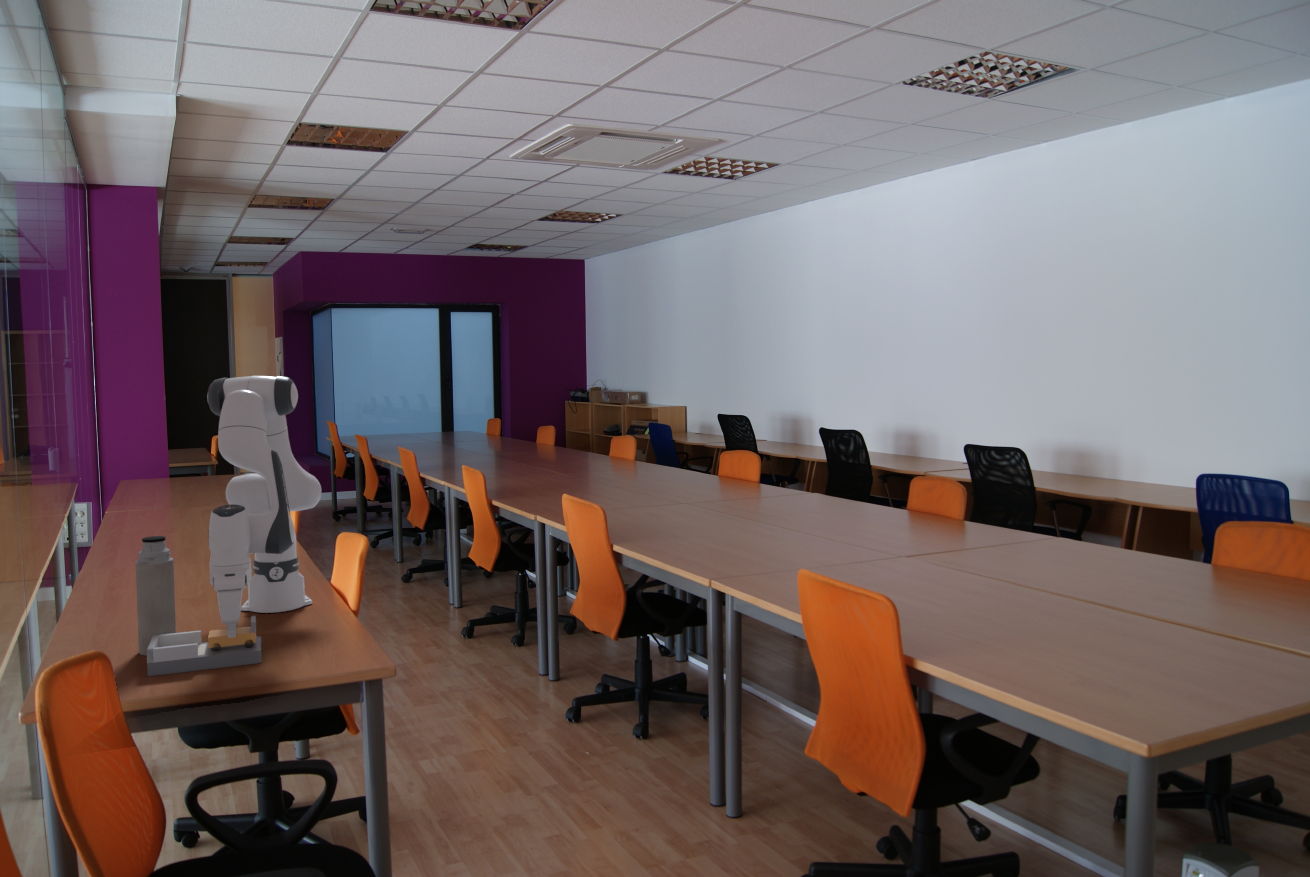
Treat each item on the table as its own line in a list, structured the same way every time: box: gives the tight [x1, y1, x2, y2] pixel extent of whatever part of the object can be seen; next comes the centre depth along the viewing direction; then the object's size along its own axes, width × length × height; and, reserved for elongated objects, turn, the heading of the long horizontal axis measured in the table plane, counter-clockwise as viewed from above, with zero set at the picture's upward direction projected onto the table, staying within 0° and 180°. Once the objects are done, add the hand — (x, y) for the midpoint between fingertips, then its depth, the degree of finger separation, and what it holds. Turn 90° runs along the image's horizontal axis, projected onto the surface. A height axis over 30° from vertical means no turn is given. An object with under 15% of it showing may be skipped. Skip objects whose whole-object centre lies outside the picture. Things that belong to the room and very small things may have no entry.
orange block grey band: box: [207, 615, 257, 652], centre depth 205 cm, size 6×10×6 cm, turn 114°
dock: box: [146, 630, 262, 677], centre depth 203 cm, size 12×23×6 cm, turn 114°
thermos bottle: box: [135, 535, 177, 657], centre depth 210 cm, size 8×8×28 cm
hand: (232, 632), depth 205 cm, fingers open, 7 cm apart
